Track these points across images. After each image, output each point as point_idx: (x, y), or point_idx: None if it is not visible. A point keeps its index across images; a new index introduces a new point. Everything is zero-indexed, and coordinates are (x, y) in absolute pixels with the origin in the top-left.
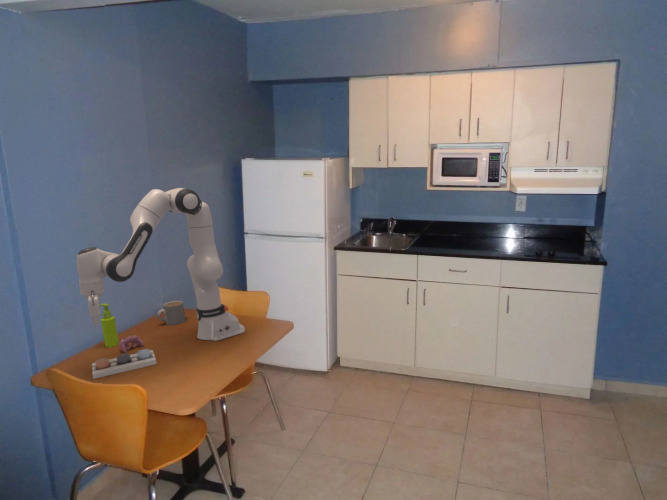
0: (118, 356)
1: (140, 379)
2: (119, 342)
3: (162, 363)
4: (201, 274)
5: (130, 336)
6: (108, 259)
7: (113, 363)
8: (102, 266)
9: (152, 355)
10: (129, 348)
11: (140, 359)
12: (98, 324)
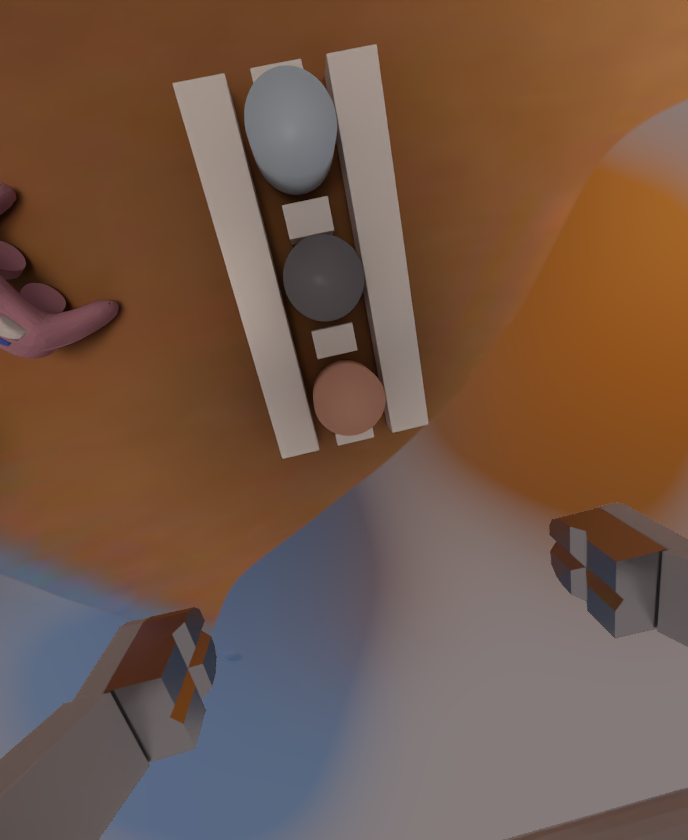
0: (322, 310)
1: (543, 167)
2: (25, 351)
3: (374, 21)
4: None
5: None
6: None
7: (328, 343)
8: None
9: None
10: (51, 289)
11: (327, 172)
12: (617, 503)
